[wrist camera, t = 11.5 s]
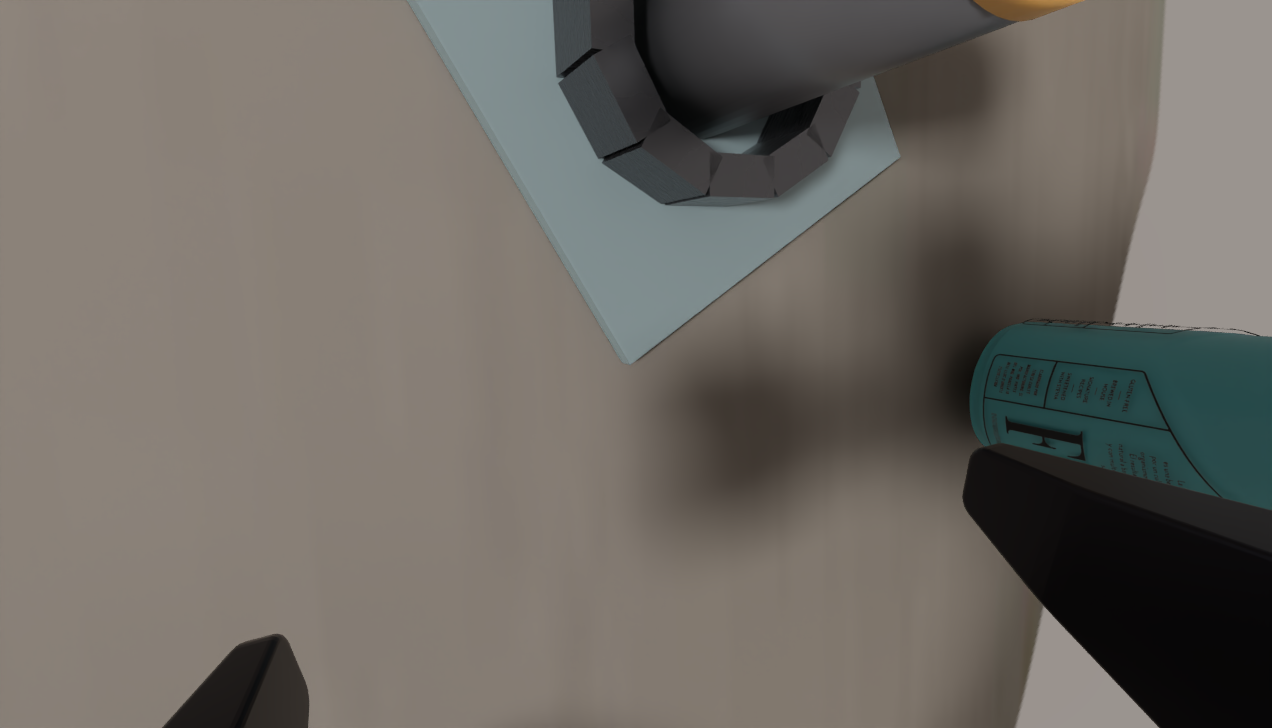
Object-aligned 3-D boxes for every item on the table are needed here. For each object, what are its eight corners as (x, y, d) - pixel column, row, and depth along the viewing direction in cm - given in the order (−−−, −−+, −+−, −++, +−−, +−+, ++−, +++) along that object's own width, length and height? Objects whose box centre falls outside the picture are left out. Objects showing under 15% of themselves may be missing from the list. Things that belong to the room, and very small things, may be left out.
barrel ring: (651, 259, 19) (695, 257, 17) (489, -45, 16) (517, -98, 14) (839, 126, 22) (897, 110, 20) (736, -156, 19) (791, -213, 16)
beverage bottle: (914, 408, 27) (2036, 655, 9) (979, 285, 28) (2099, 300, 10) (981, 473, 30) (1927, 753, 12) (1037, 360, 31) (1987, 471, 13)
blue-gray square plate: (621, 362, 20) (630, 364, 19) (347, -101, 15) (347, -115, 14) (887, 159, 24) (900, 156, 24) (746, -252, 19) (758, -267, 19)
